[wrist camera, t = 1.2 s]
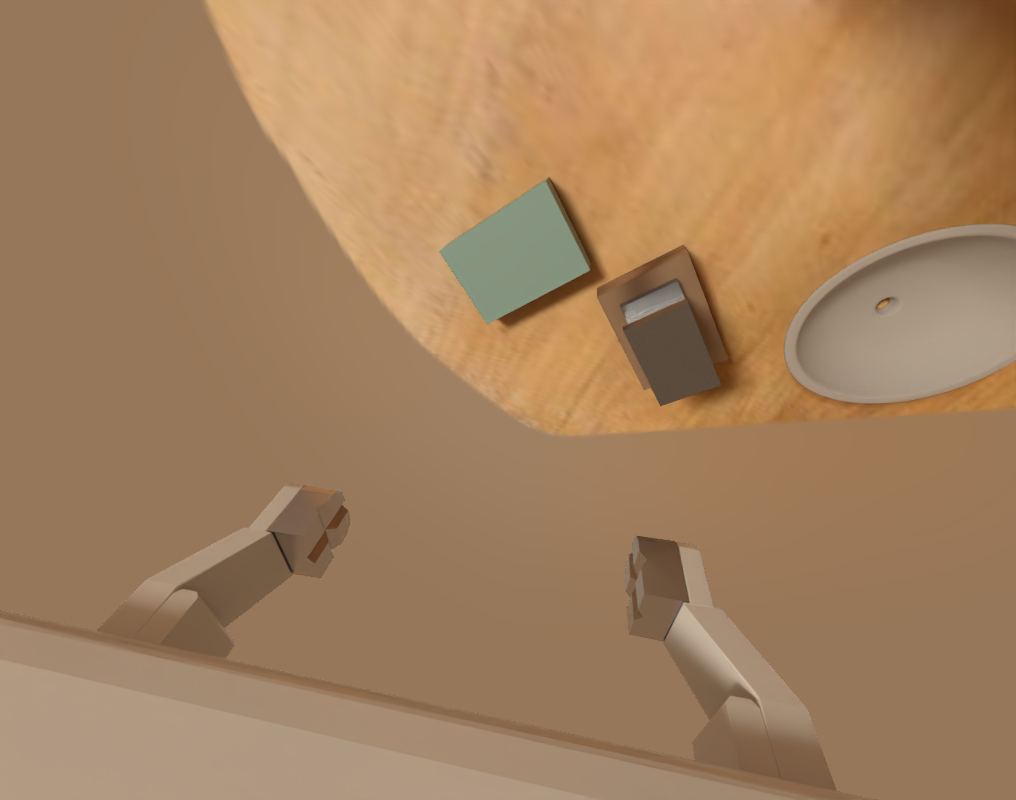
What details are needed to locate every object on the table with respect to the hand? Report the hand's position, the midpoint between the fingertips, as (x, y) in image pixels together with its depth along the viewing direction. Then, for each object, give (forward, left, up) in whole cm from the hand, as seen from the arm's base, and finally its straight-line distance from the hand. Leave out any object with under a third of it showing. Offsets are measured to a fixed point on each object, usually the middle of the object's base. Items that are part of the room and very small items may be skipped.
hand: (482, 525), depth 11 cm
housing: (-5, +11, -29) cm, 32 cm away
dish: (-21, +18, -32) cm, 42 cm away
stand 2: (-5, +11, -32) cm, 34 cm away
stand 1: (+4, -1, -32) cm, 32 cm away
